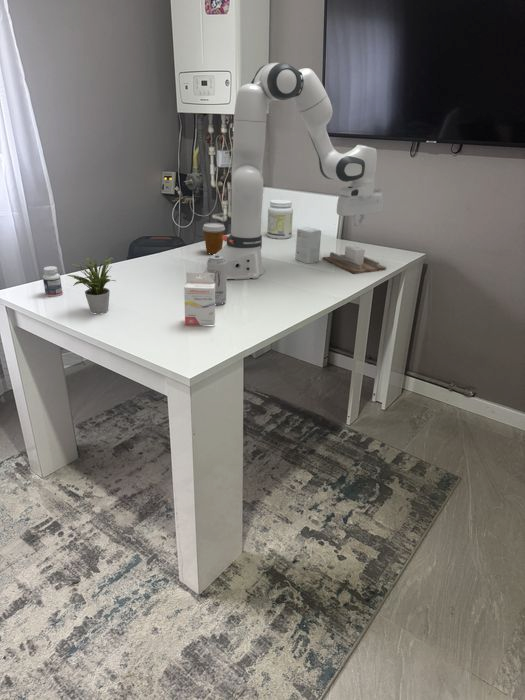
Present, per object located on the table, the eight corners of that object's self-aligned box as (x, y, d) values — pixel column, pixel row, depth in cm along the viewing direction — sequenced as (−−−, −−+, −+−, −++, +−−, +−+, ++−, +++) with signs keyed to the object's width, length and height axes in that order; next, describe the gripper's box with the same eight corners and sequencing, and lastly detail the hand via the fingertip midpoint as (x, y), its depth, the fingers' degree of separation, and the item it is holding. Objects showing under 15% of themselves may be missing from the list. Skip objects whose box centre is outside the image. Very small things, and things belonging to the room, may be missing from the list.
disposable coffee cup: (204, 249, 220) (204, 222, 215) (226, 250, 220) (226, 223, 215) (201, 255, 212) (200, 227, 206) (223, 256, 212) (223, 228, 206)
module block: (354, 265, 203) (355, 250, 200) (344, 260, 209) (345, 246, 206) (363, 263, 205) (364, 249, 202) (352, 259, 211) (354, 245, 208)
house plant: (96, 298, 162) (91, 248, 155) (133, 305, 157) (129, 254, 150) (66, 313, 150) (58, 259, 143) (104, 321, 145) (98, 266, 138)
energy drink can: (205, 305, 160) (204, 258, 153) (209, 298, 165) (209, 253, 159) (224, 306, 159) (224, 260, 153) (228, 300, 164) (228, 255, 158)
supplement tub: (280, 232, 256) (281, 198, 248) (296, 237, 248) (299, 202, 240) (261, 235, 249) (263, 200, 241) (278, 240, 240) (280, 204, 233)
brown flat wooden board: (353, 274, 195) (354, 266, 194) (322, 259, 213) (322, 252, 211) (385, 269, 202) (387, 262, 201) (353, 255, 219) (353, 249, 218)
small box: (319, 261, 210) (321, 230, 204) (308, 264, 206) (310, 232, 200) (305, 257, 215) (307, 226, 209) (294, 259, 211) (296, 228, 206)
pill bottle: (45, 292, 165) (41, 266, 161) (62, 291, 167) (58, 265, 163) (45, 297, 161) (41, 270, 157) (62, 296, 163) (59, 269, 159)
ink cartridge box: (184, 326, 144) (182, 276, 137) (186, 319, 148) (184, 271, 142) (214, 326, 144) (214, 277, 138) (215, 320, 149) (215, 272, 142)
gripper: (378, 187, 201) (374, 222, 207) (335, 189, 193) (332, 226, 199) (388, 189, 196) (384, 225, 202) (345, 192, 188) (342, 229, 194)
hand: (358, 225), depth 200 cm, fingers closed
